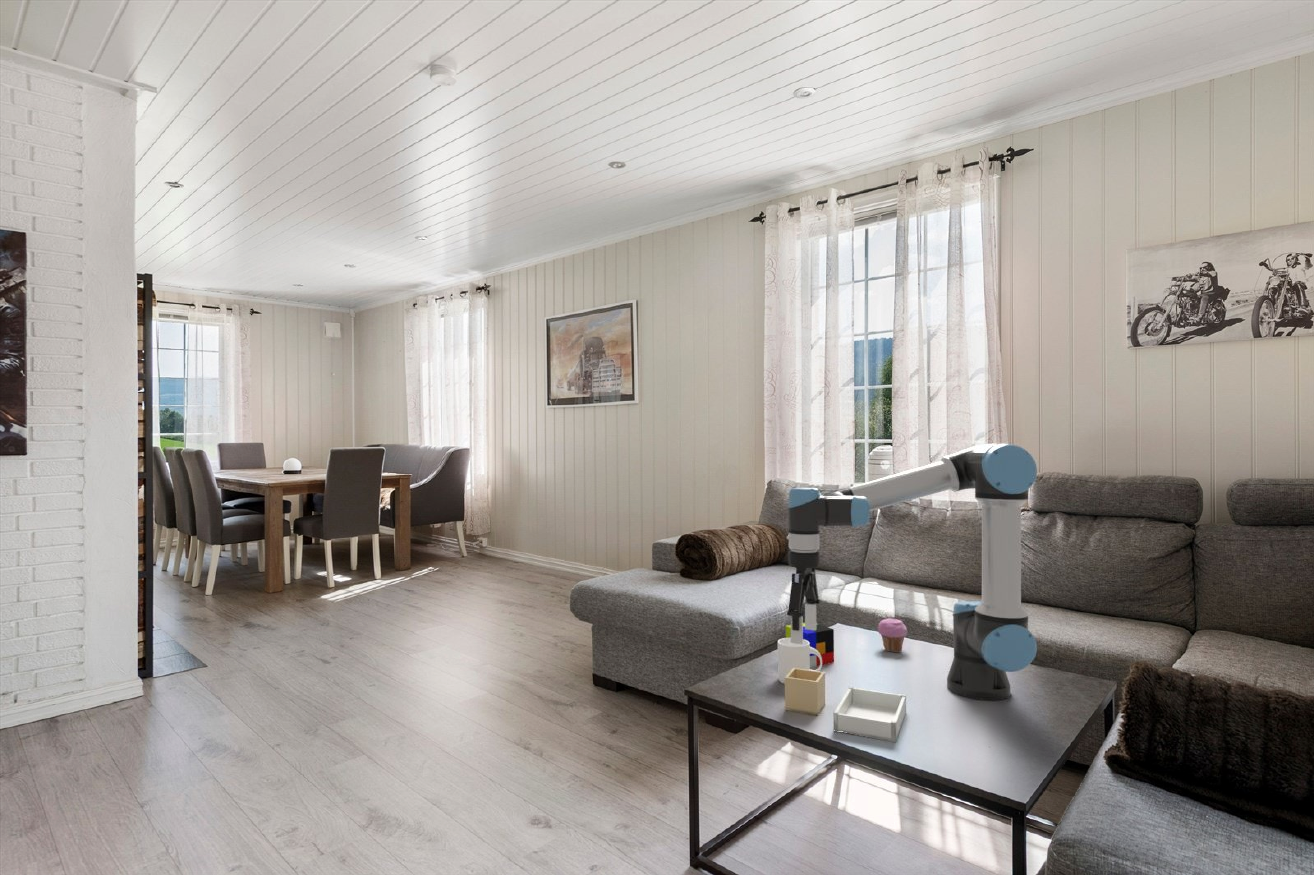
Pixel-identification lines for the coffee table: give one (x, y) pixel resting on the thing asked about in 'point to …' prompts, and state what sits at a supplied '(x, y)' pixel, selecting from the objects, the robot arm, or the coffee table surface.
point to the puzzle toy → (818, 643)
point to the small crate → (805, 691)
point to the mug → (794, 657)
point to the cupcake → (892, 634)
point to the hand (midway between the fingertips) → (804, 636)
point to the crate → (870, 714)
